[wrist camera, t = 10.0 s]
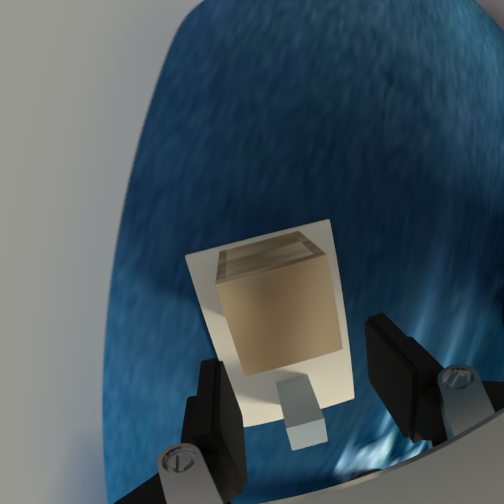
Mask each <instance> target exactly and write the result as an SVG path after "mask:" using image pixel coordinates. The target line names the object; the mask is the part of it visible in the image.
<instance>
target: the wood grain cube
mask: <svg viewBox="0 0 504 504" xmlns="http://www.w3.org/2000/svg"><path fill="white" fill-rule="evenodd" d="M215 286H216V289H217V292H218V295H219V298H220V302H221V305H222V308H223V311H224V314H225V317H226V320H227V324H228V327H229V330H230V333H231V336H232V339H233V342H234V345H235V348H236V351H237V354H238V357H239V360H240V363H241V366H242V369H243V372H244V375H245V376H248V375H253V374H257V373H261V372H265V371H269V370H273V369H277V368H280V367H284V366H288V365H292V364H295V363H299V362H302V361H306V360H309V359H313V358H316V357H319V356H323V355H326V354H329V353H332V352H336V351H339V350H342V349H343V347H342V340H341V333H340V327H339V320H338V314H337V308H336V301H335V296H334V290H333V284H332V278H331V273H330V267H329V262H328V257H327V254H326V253H324V252H323V251H322V250H321V249H320V248H319V247H317V246H316V245H315V244H314V243H313V242H311V241H310V240H309V239H308V238H307V237H305V236H304V235H303V234H302V233H301V232H299V231H295V232H291V233H288V234H284V235H280V236H276V237H272V238H269V239H265V240H261V241H257V242H253V243H250V244H246V245H242V246H238V247H234V248H231V249H227V250H223V251H220V252H219V259H218V267H217V275H216V282H215Z"/></svg>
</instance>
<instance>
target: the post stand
mask: <svg viewBox="0 0 504 504" xmlns="http://www.w3.org/2000/svg"><path fill="white" fill-rule="evenodd" d="M295 231H299V232H301V233H302V234H303V235H304V236H305V237H307V238H308V239H309V240H310V241H311V242H313V243H314V244H315V245H316V246H317V247H319V248H320V249H321V250H322V251H323V252H324V253H326V254H327V257H328V262H329V267H330V273H331V278H332V284H333V290H334V296H335V301H336V308H337V314H338V320H339V327H340V333H341V340H342V347H343V349H342V350H339V351H336V352H332V353H329V354H326V355H323V356H319V357H316V358H313V359H309V360H306V361H302V362H299V363H295V364H292V365H288V366H284V367H280V368H277V369H273V370H269V371H265V372H261V373H257V374H253V375H248V376H245V375H244V372H243V369H242V366H241V363H240V360H239V357H238V354H237V351H236V348H235V345H234V342H233V339H232V336H231V333H230V330H229V327H228V324H227V320H226V317H225V314H224V311H223V308H222V305H221V302H220V298H219V295H218V292H217V289H216V286H215V282H216V275H217V267H218V259H219V252H220V251H223V250H227V249H231V248H234V247H238V246H242V245H246V244H250V243H253V242H257V241H261V240H265V239H269V238H272V237H276V236H280V235H284V234H288V233H291V232H295ZM185 258H186V262H187V265H188V268H189V271H190V275H191V278H192V281H193V284H194V287H195V291H196V294H197V297H198V300H199V303H200V306H201V309H202V312H203V315H204V318H205V321H206V324H207V327H208V330H209V333H210V336H211V339H212V342H213V345H214V348H215V350H216V353H217V356H218V359H219V361H223V363H224V366H225V369H226V371H227V374H228V377H229V380H230V382H231V385H232V388H233V391H234V393H235V396H236V399H237V401H238V404H239V407H240V409H241V412H242V417H243V425H244V427H248V426H253V425H258V424H263V423H267V422H272V421H276V420H280V419H284V421H285V426H286V430H287V433H288V437H289V440H290V444H291V447H292V450H297V449H300V448H304V447H308V446H312V445H315V444H319V443H323V442H326V441H328V440H327V434H326V427H325V421H324V417H323V414H322V411H321V409H322V408H325V407H328V406H332V405H335V404H338V403H341V402H344V401H347V400H350V399H353V398H354V388H353V377H352V367H351V358H350V349H349V340H348V332H347V324H346V316H345V309H344V302H343V295H342V288H341V282H340V275H339V269H338V263H337V257H336V251H335V246H334V240H333V235H332V229H331V224H330V220H329V219H326V220H322V221H318V222H314V223H310V224H306V225H302V226H298V227H293V228H289V229H285V230H281V231H277V232H273V233H269V234H265V235H261V236H257V237H254V238H250V239H246V240H242V241H238V242H234V243H230V244H226V245H222V246H218V247H214V248H210V249H206V250H203V251H199V252H195V253H191V254H187V255H185Z"/></svg>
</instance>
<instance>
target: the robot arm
mask: <svg viewBox="0 0 504 504" xmlns="http://www.w3.org/2000/svg"><path fill="white" fill-rule="evenodd" d="M365 336H366V347H367V360H368V375H369V380H370V383H371V385H372V386H373V388H374V389H375V391H376V392H377V394H378V396H379V397H380V399H381V400H382V402H383V403H384V405H385V407H386V408H387V410H388V411H389V413H390V415H391V416H392V418H393V419H394V421H395V423H396V424H397V426H398V427H399V429H400V431H401V432H402V434H403V436H404V437H405V438H408V437H410V439H411V440H412V442H413V443H416V442H418V441H420V440H422V439H423V440H428V444H429V450H427V451H425V452H423V453H420V454H418V455H416V456H414V457H412V458H409V459H407V460H405V461H402V462H400V463H398V464H395V465H393V466H390V467H388V468H385V469H383V470H380V471H377V472H375V473H372V474H369V475H367V476H364V477H361V478H358V479H355V480H352V481H349V482H346V483H343V484H339V485H336V486H333V487H329V488H326V489H322V490H318V491H315V492H311V493H307V494H303V495H299V496H294V497H290V498H285V499H281V500H276V501H270V502H265V503H259V504H504V382H495V381H481V380H480V378H479V376H478V374H477V372H476V371H475V370H474V369H473V368H472V367H470V366H467V365H462V364H456V365H451V366H448V367H446V368H445V369H444V368H443V367H442V366H441V365H440V364H439V363H438V362H437V361H436V360H435V359H434V358H433V357H432V356H431V355H430V354H429V353H428V352H427V351H426V350H425V349H424V348H423V347H422V346H421V345H420V344H419V343H418V342H417V341H416V340H415V339H414V338H412V337H407V336H406V335H405V334H404V333H403V332H402V331H401V330H400V329H399V328H398V327H397V326H396V325H395V324H394V323H393V322H392V321H391V320H390V319H389V318H388V317H387V316H386V315H385V314H384V313H379V314H376V315H373V316H370V317H369V318H368V321H367V322H365ZM157 466H158V471H159V472H158V473H157V474H156V475H154V476H153V477H151V478H150V479H149V480H147V481H146V482H144V483H143V484H142V485H140V486H139V487H137V488H136V489H134V490H133V491H131V492H130V493H128V494H127V495H125V496H124V497H122V498H121V499H119V500H118V501H116V502H115V503H114V504H232V502H231V500H232V499H233V498H234V497H235V496H236V495H237V494H242V493H243V486H242V485H247V469H246V456H245V442H244V428H243V417H242V412H241V409H240V407H239V404H238V401H237V399H236V396H235V393H234V391H233V388H232V385H231V382H230V380H229V377H228V374H227V371H226V369H225V366H224V363H223V361H217V359H216V358H214V359H209V360H204V361H201V367H200V375H199V382H198V390H197V395H196V396H190V397H188V399H187V403H186V409H185V416H184V422H183V429H182V435H181V442H180V444H175V445H173V446H170V447H168V448H167V449H166V450H164V451H163V452H162V453H161V455H160V456H159V458H158V461H157Z"/></svg>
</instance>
